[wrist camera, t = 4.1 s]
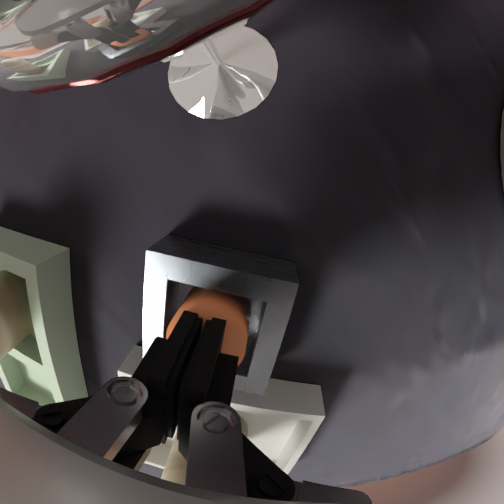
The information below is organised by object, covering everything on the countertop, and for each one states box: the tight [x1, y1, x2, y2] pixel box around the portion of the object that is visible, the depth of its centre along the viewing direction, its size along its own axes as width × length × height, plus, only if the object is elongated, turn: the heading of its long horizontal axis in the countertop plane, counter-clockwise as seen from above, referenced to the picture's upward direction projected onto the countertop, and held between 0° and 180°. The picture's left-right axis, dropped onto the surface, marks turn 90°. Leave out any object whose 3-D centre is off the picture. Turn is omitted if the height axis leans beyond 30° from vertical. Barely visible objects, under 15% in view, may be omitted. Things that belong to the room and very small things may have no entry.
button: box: [166, 286, 251, 365], centre depth 12 cm, size 3×3×3 cm
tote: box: [118, 345, 325, 475], centre depth 16 cm, size 11×10×2 cm
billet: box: [161, 416, 248, 485], centre depth 13 cm, size 4×4×7 cm
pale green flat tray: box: [0, 227, 88, 406], centre depth 15 cm, size 8×15×3 cm, turn 168°
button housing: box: [143, 235, 299, 395], centre depth 13 cm, size 6×6×2 cm
